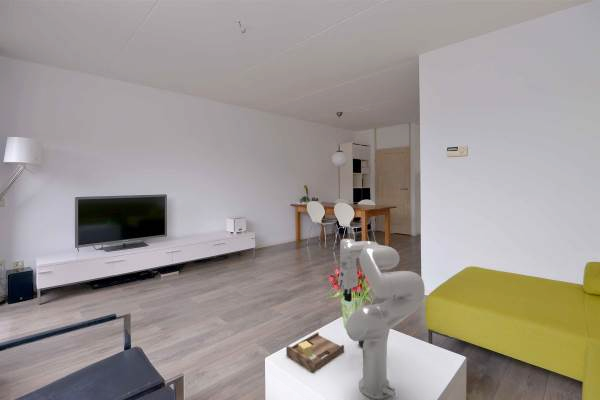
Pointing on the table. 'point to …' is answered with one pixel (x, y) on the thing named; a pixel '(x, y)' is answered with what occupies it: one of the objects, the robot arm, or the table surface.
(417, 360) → the table surface
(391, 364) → the table surface
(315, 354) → the box
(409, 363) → the table surface
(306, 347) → the block
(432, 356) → the table surface
